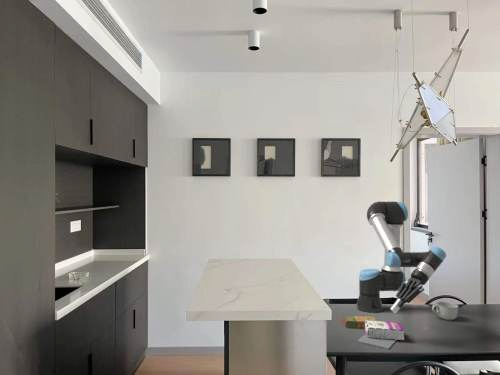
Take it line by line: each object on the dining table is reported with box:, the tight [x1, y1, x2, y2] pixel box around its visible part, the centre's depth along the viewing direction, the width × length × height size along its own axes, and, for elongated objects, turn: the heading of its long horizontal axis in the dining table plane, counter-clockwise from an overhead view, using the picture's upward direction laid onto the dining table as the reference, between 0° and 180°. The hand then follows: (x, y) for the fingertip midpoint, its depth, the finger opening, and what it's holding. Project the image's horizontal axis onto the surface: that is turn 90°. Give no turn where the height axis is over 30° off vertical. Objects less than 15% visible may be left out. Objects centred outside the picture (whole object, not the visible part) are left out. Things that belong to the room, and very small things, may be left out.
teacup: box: [431, 300, 459, 321], centre depth 204 cm, size 14×11×8 cm
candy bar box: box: [365, 320, 405, 341], centre depth 176 cm, size 11×5×16 cm
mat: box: [356, 332, 398, 350], centre depth 170 cm, size 15×14×1 cm
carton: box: [342, 315, 378, 329], centre depth 190 cm, size 8×16×4 cm, turn 85°
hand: (393, 311), depth 172 cm, fingers closed
